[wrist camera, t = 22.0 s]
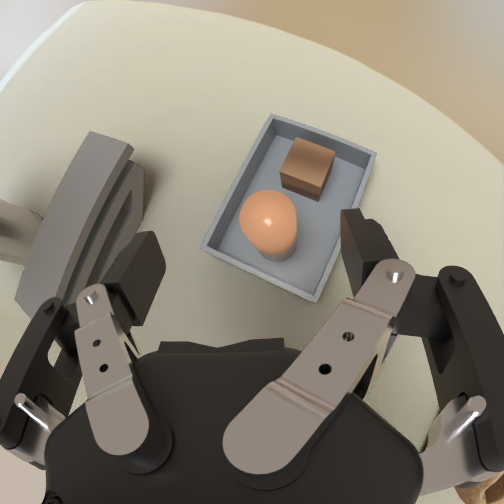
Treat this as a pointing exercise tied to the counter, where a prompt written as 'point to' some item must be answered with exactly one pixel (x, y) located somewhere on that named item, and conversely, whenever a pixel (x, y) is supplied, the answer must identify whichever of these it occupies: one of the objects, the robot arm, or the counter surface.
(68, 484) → the robot arm
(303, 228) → the tote
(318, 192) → the cube
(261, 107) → the counter surface
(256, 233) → the peach dome-topped cylinder
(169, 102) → the counter surface
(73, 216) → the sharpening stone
